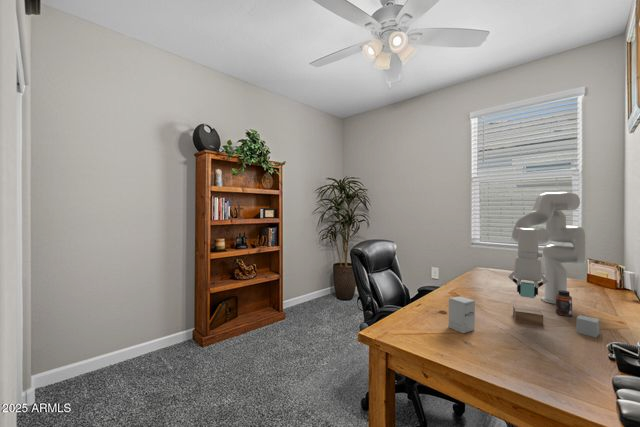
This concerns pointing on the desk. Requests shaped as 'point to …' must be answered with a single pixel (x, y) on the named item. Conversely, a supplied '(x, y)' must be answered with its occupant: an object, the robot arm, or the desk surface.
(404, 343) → the desk surface
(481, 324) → the desk surface
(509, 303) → the desk surface
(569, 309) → the supplement bottle
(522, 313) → the walnut block
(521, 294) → the teal cube
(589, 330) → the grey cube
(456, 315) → the supplement box
